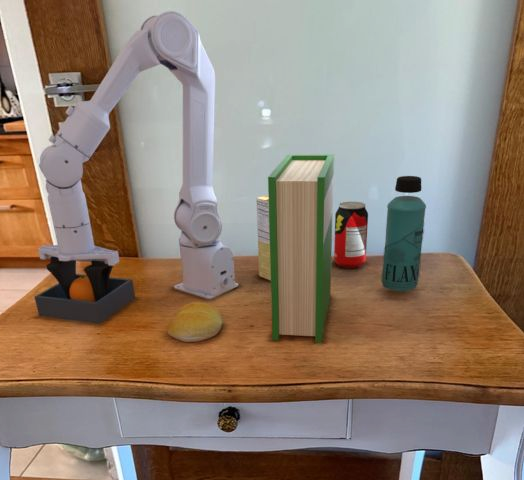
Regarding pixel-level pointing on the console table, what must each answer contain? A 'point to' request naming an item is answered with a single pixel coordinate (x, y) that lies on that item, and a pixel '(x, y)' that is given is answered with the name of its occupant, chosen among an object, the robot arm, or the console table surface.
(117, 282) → the dark gray tray
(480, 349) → the console table surface
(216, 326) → the bread roll
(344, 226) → the beverage can
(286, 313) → the hardback book
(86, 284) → the orange
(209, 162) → the robot arm
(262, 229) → the candy box
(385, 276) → the beverage bottle
